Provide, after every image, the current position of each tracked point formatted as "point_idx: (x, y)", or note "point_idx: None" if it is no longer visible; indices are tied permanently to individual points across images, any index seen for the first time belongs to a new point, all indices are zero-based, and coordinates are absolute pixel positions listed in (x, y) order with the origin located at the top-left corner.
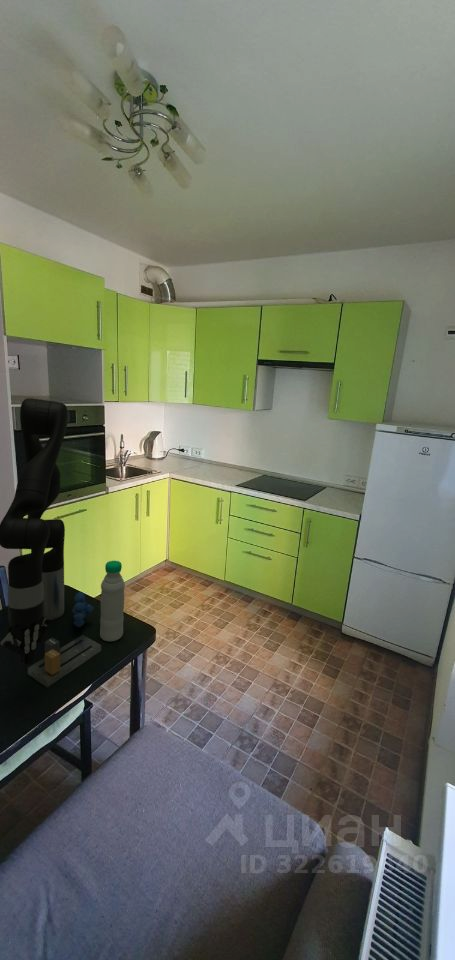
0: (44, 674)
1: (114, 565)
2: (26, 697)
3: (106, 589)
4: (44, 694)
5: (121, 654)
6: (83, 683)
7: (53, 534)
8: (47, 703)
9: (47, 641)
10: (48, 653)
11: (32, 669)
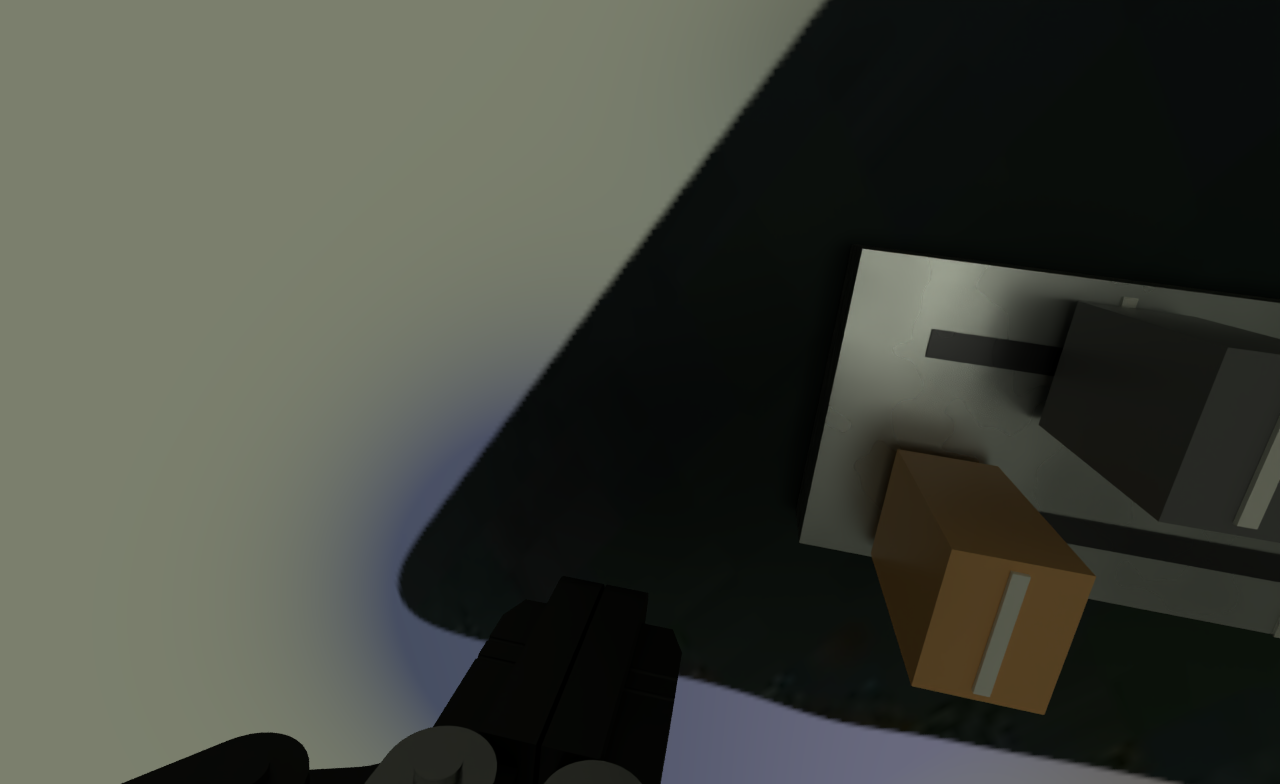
0: (858, 467)
1: None
2: (645, 445)
3: None
4: (731, 539)
5: None
6: (959, 719)
7: None
8: (676, 612)
9: (1255, 378)
10: (982, 585)
11: (864, 313)
